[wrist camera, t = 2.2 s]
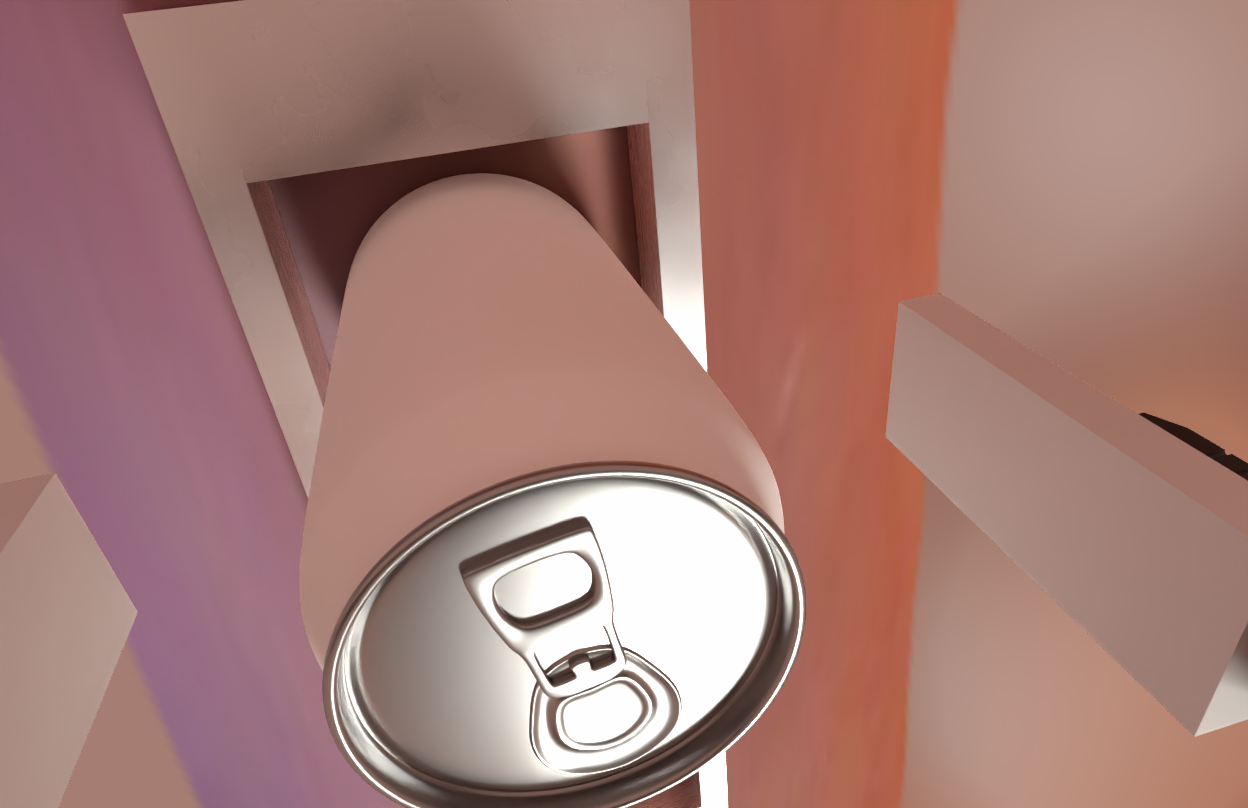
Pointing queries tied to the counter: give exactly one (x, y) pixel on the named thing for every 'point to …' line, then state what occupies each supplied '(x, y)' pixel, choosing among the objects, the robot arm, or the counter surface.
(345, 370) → the can
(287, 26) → the holder
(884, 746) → the counter surface
